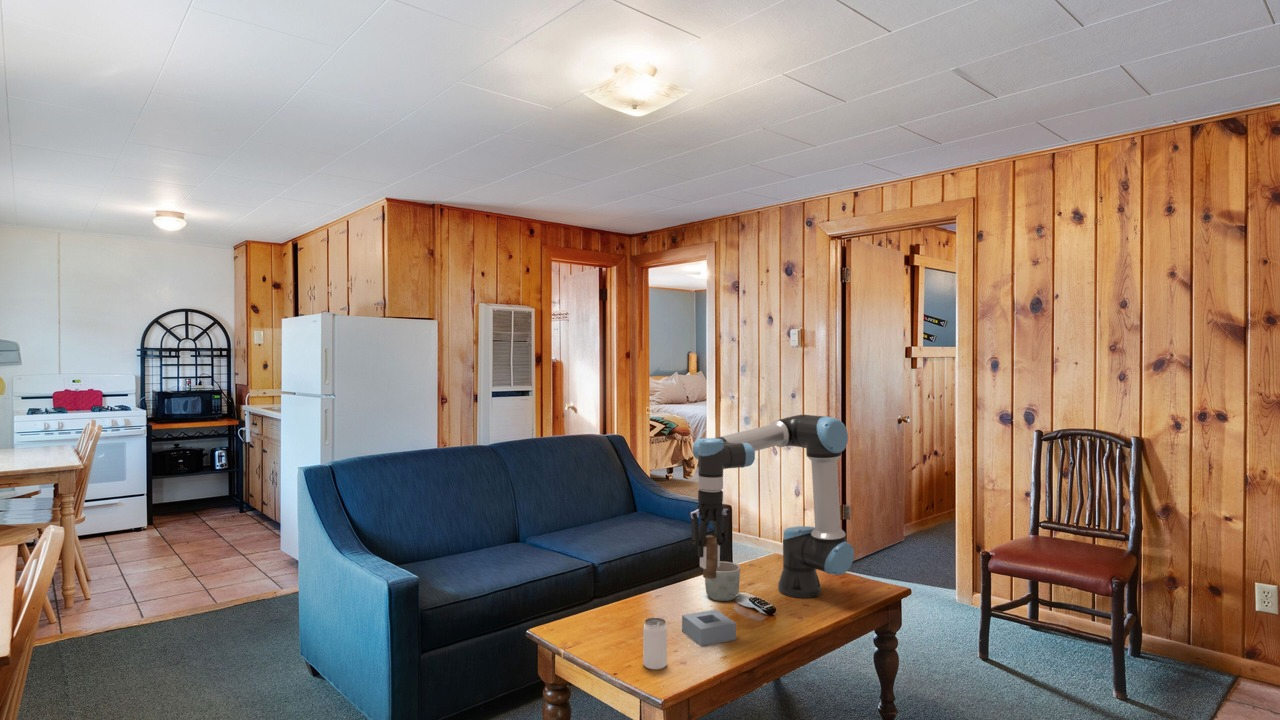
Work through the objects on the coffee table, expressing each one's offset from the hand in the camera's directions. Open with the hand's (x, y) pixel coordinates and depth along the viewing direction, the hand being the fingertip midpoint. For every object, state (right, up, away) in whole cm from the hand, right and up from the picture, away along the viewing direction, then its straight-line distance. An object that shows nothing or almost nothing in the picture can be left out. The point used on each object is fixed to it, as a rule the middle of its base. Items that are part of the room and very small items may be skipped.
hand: (709, 566), depth 208 cm
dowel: (0, -3, 0) cm, 3 cm away
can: (-17, -21, -20) cm, 34 cm away
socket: (0, -21, 0) cm, 21 cm away
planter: (+8, -21, +33) cm, 40 cm away
